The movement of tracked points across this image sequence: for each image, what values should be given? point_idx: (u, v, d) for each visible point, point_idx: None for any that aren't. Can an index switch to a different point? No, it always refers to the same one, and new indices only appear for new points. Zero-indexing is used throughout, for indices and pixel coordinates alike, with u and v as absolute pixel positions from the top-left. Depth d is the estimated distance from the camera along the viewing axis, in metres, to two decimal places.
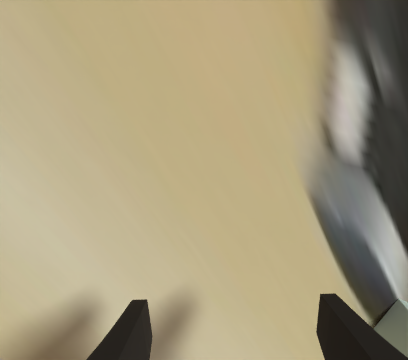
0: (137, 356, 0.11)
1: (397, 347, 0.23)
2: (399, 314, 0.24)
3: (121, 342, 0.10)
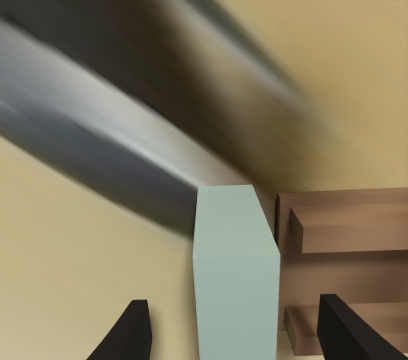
0: (137, 356, 0.11)
1: None
2: None
3: (121, 342, 0.10)
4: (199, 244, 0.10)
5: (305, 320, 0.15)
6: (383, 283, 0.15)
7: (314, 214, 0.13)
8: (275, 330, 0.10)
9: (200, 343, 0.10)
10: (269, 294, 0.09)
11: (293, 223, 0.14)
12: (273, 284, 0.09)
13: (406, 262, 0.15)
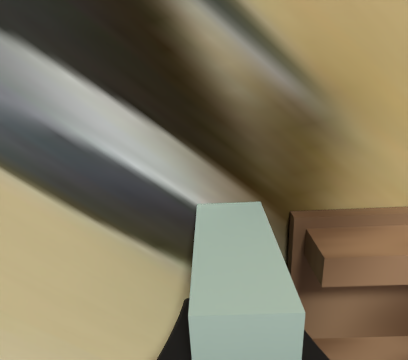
0: None
1: None
2: None
3: (189, 340, 0.10)
4: (197, 293, 0.07)
5: None
6: None
7: (335, 239, 0.11)
8: None
9: None
10: None
11: (309, 248, 0.12)
12: (295, 348, 0.07)
13: None
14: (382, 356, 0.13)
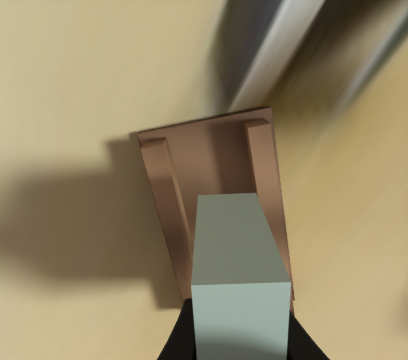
0: None
1: None
2: None
3: (189, 340, 0.10)
4: (199, 268, 0.08)
5: (167, 153, 0.17)
6: None
7: None
8: None
9: None
10: (278, 324, 0.08)
11: (256, 121, 0.17)
12: (282, 314, 0.08)
13: None
14: (177, 194, 0.18)
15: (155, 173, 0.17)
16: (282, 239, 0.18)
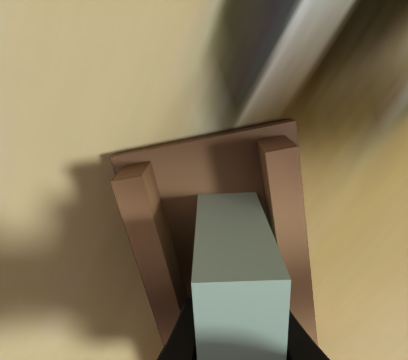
0: None
1: None
2: None
3: (189, 340, 0.10)
4: (199, 265, 0.08)
5: (151, 185, 0.12)
6: None
7: None
8: None
9: None
10: (278, 322, 0.08)
11: (275, 140, 0.12)
12: (282, 311, 0.08)
13: None
14: (166, 239, 0.13)
15: (132, 215, 0.12)
16: (310, 301, 0.13)
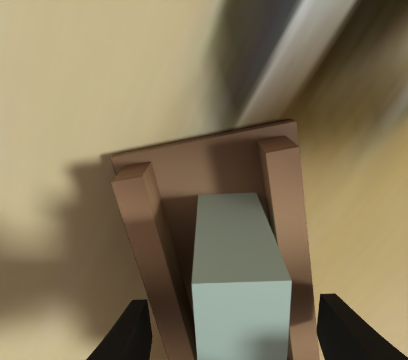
0: (137, 356, 0.11)
1: None
2: None
3: (121, 342, 0.10)
4: (199, 266, 0.08)
5: (151, 185, 0.12)
6: None
7: None
8: None
9: None
10: (278, 323, 0.08)
11: (275, 140, 0.12)
12: (283, 312, 0.08)
13: None
14: (166, 239, 0.13)
15: (133, 215, 0.12)
16: (311, 302, 0.13)
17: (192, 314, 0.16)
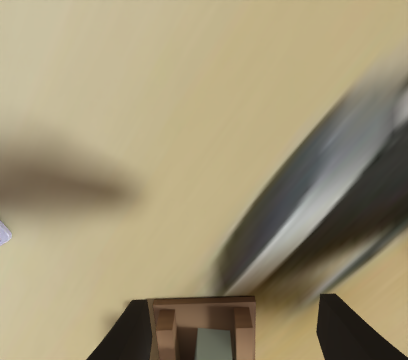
0: (137, 356, 0.11)
1: None
2: (196, 346, 0.23)
3: (121, 342, 0.10)
4: None
5: (174, 327, 0.23)
6: None
7: None
8: None
9: None
10: None
11: (243, 313, 0.23)
12: None
13: None
14: (177, 352, 0.24)
15: (164, 346, 0.22)
16: None
17: None
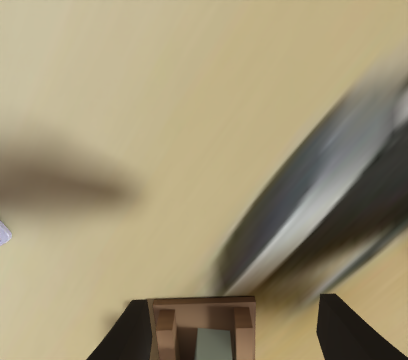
0: (137, 356, 0.11)
1: None
2: (196, 346, 0.23)
3: (121, 342, 0.10)
4: None
5: (174, 327, 0.23)
6: None
7: None
8: None
9: None
10: None
11: (243, 313, 0.23)
12: None
13: None
14: (177, 352, 0.24)
15: (164, 346, 0.22)
16: None
17: None
